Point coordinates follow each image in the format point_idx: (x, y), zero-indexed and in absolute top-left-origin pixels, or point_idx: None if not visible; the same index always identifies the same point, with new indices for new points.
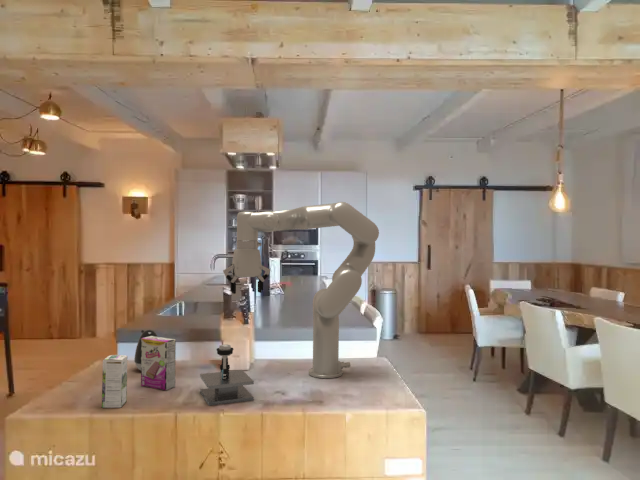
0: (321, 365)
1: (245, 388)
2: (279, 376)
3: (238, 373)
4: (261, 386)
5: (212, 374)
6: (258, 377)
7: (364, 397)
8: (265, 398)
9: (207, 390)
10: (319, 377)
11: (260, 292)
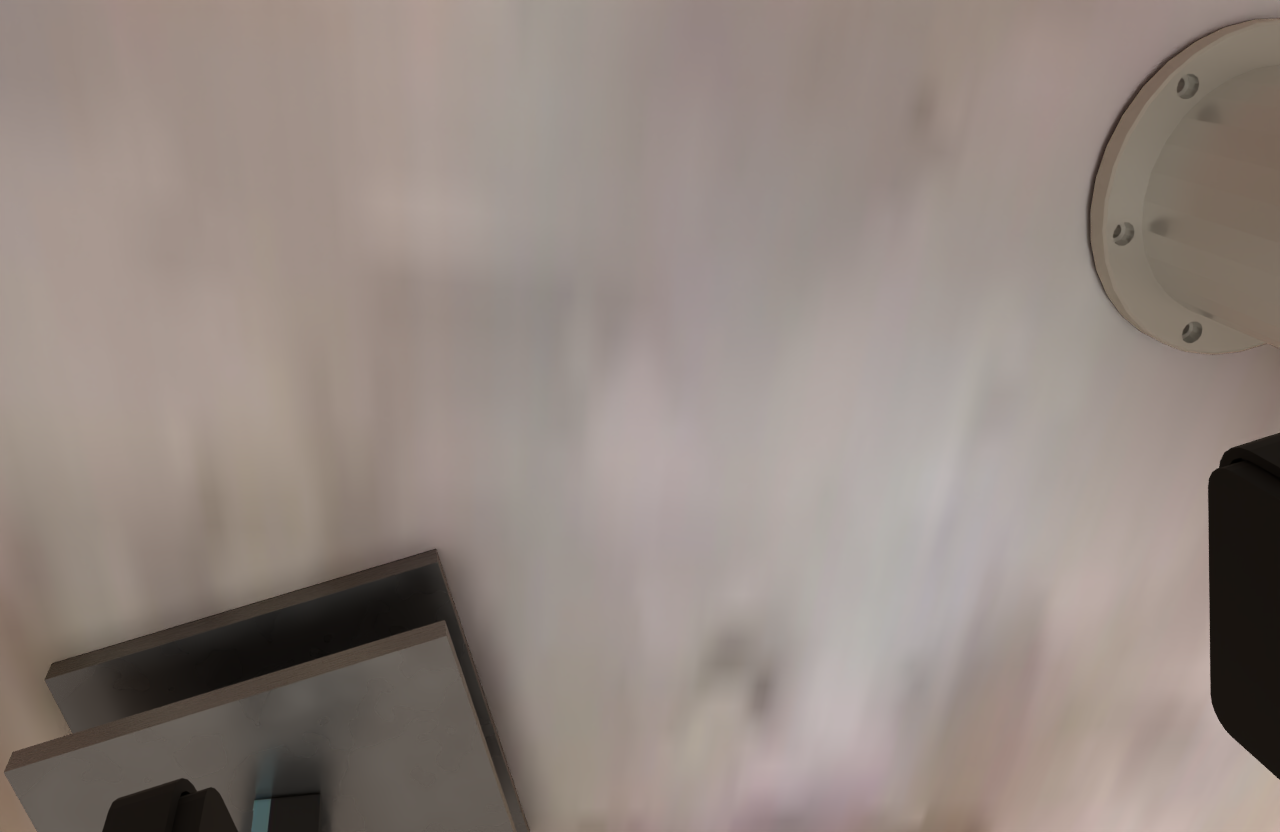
0: (1237, 328)
1: (470, 665)
2: (811, 222)
3: (413, 751)
4: (610, 521)
5: (146, 785)
6: (601, 236)
7: (1247, 765)
8: (619, 794)
9: (126, 712)
10: (1141, 330)
11: (1231, 716)
